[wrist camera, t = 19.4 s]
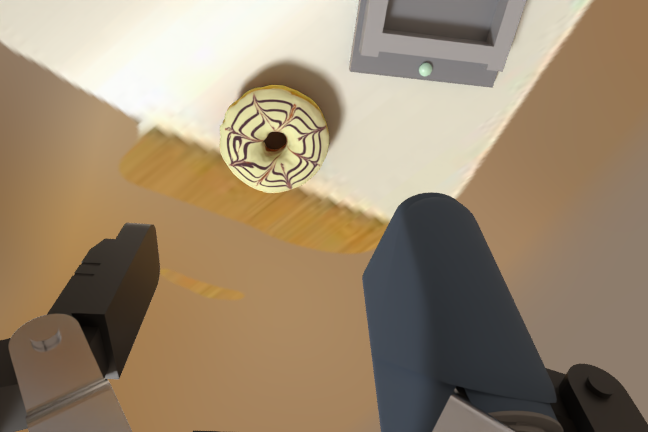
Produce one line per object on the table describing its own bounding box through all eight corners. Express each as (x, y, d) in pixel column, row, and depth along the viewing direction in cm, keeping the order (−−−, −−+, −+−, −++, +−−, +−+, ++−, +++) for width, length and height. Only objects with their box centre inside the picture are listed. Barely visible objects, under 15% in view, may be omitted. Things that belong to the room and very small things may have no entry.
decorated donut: (208, 158, 45) (202, 173, 42) (245, 62, 41) (241, 71, 38) (299, 194, 48) (300, 211, 45) (344, 108, 44) (347, 120, 40)
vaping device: (350, 288, 16) (402, 854, 7) (408, 176, 13) (644, 923, 4) (413, 301, 17) (540, 843, 7) (482, 195, 14) (849, 894, 4)
